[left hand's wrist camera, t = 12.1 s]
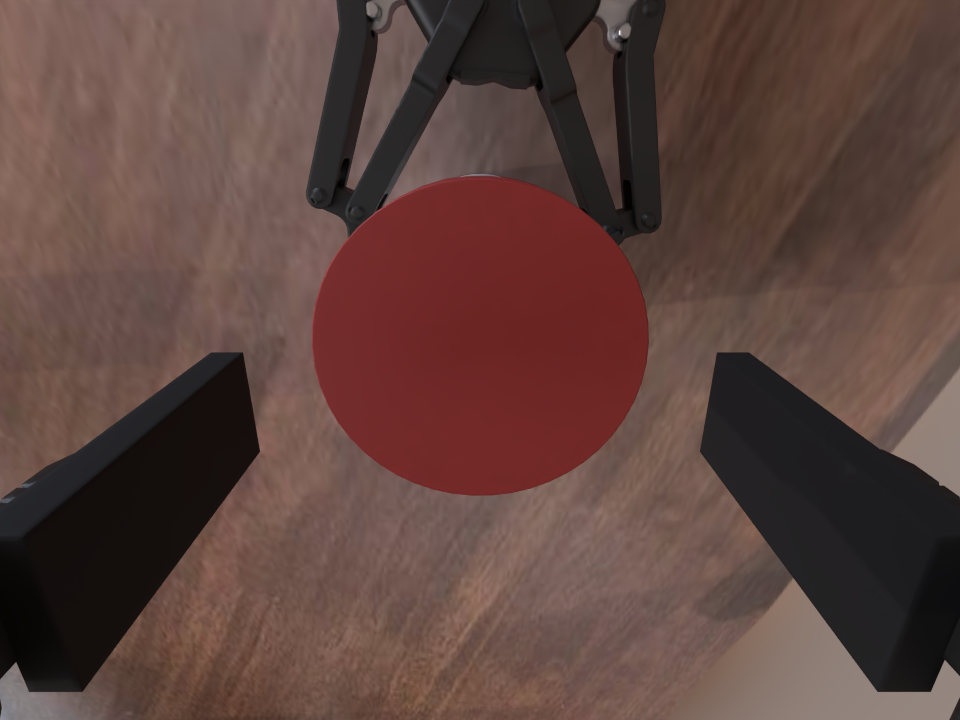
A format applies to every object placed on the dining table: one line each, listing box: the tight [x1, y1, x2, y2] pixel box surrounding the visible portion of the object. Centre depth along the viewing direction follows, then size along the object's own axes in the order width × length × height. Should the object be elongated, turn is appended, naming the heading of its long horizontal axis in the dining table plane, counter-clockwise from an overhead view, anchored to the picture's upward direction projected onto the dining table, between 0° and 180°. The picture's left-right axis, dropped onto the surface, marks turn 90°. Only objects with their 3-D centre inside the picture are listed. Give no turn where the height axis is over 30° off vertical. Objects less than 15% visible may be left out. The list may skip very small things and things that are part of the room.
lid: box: [312, 176, 649, 495], centre depth 17 cm, size 10×10×2 cm
